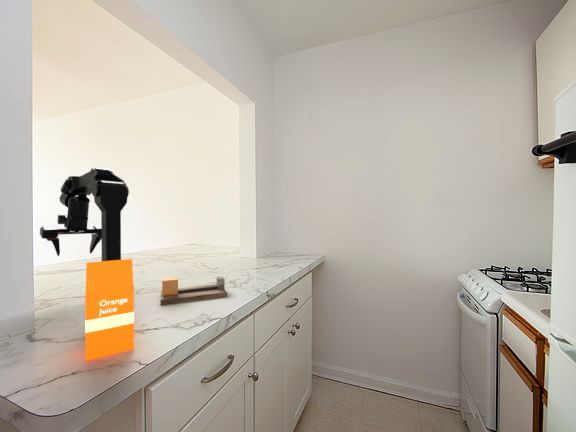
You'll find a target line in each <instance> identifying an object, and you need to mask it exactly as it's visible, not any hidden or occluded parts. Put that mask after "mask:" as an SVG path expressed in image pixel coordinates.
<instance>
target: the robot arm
mask: <svg viewBox="0 0 576 432" xmlns="http://www.w3.org/2000/svg"><path fill="white" fill-rule="evenodd" d="M60 192H61V194H60V196H59V198H58V199H59V202H60V204H62V205H63V206H65V208H67V214H66V215H64V214H58V215H57V225H63V226H64V228H58V227H57V226H56V225H55V226H54V225H51V226H50V225H49V226H46V225H45V226H44V225H42V226H41V227H40V228H39V235H40V237H41V239H45V240H46V241H49V242H50V241H51V244H52V245H53V246H54V247H53V248H54V249H55V253H56V255H57V257H59V256H60V255H61V249H60V246H61V245H60V238H59V235H81V234H82V235H84V234H85V235H87V234H88V235H89V234H91V240H90V246H89V254H92V253H93V252H94V251H95V248H96V247H97V245H98V244H99V242H101V261H113V260H122V235H121V234H122V228H121V226H122V223H121V221H122V215H121V214H122V211H123V210H124V207H125V206H126V205H127V203H128V197H129V195H130V190H129V187H128V185H127V184H126V182H125V181H124V179H122V178H121V177H118V176H117V175H115V174H114V172H113V171H112V170H111V169H107V168H101V167H94V168H93V167H92V168H90V170H89V171H88V172H86V173H84V174H82V175H79V176H77V175H72V176H71V175H70V176H68V177H67V179H66V178H65V180H64V182H63V184H62V186H61V188H60ZM90 195H92V196H93V200H94V201H93V202H94V204H95V205H96V206H97V208H98V209H99V210H100V212H101V213H100V215H101V216H100V218H101V219H100V220H101V221H100V222H101V225H93V226H92V227H89V228H88V223H89V209H90V202H91V199H89V197H88V196H90Z"/></svg>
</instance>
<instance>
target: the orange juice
mask: <svg viewBox="0 0 576 432" xmlns="http://www.w3.org/2000/svg"><path fill="white" fill-rule="evenodd" d="M85 268H86V270H85V271H86V273H85V291H84V292H85V293H84V294H85V295H84V296H85V301H84V302H85V304H84V305H85V306H84V308H85V309H84V310H85V313H84V314H85V318H84V319H85V320H84V326H85V327H84V329H85V330H84V333H85V362H89V361H92V360H96V359H100V358H104V357H108V356H112V355H116V354H120V353H124V352H127V351H132V350H135V304H134V303H135V285H134V273H133V272H134V271H133V270H134V269H133V258H127V259H121V260H113V261H102V260H100V261H89V262H86V267H85Z"/></svg>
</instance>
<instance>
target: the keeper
mask: <svg viewBox="0 0 576 432" xmlns="http://www.w3.org/2000/svg"><path fill="white" fill-rule="evenodd" d="M161 283H162V284H161V290H162V296H166V295H175V294H178V288H179V278H178V276H168V277H167V276H166V277H162V280H161Z"/></svg>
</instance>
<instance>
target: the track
mask: <svg viewBox="0 0 576 432" xmlns="http://www.w3.org/2000/svg"><path fill="white" fill-rule="evenodd" d="M225 281H226V280H225V277H224V276H216V284H215V283H214V284H207V285H199V286H198V285H195V286H189V287H180V288H179V287H178V294H175V295H166V296H162V289H161V290H160V305H161V306H163V305H169V304H177V303H178V304H180V303H187V302H194V301H201V300H202V301H203V300H208V299H209V300H210V299H216V298H224V297H225V298H226V297H228V292H227V291H226V289H225Z"/></svg>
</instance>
